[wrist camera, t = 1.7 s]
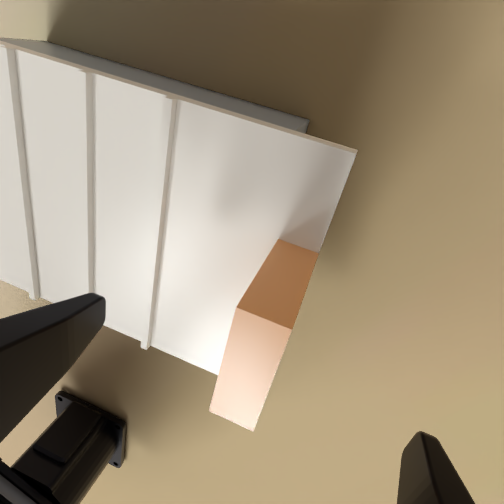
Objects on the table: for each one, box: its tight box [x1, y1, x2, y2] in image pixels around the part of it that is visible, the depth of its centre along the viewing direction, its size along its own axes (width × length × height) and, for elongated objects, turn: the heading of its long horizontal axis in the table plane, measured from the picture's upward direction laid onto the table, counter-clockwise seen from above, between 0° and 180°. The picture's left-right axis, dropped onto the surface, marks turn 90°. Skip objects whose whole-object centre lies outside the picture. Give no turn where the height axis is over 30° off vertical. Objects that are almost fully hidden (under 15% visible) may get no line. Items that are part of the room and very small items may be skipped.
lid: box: [0, 41, 358, 431], centre depth 12 cm, size 11×15×5 cm
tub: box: [0, 38, 309, 134], centre depth 17 cm, size 10×13×4 cm
